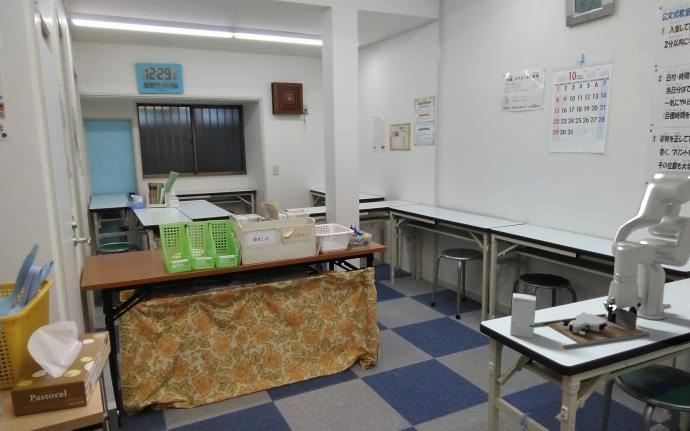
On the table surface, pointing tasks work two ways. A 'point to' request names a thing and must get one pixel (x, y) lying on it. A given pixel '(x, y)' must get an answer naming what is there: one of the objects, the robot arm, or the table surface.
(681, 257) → the robot arm
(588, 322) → the robot toy
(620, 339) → the guide rails
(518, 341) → the table surface
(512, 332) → the skincare box
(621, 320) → the brown rectangular mat
